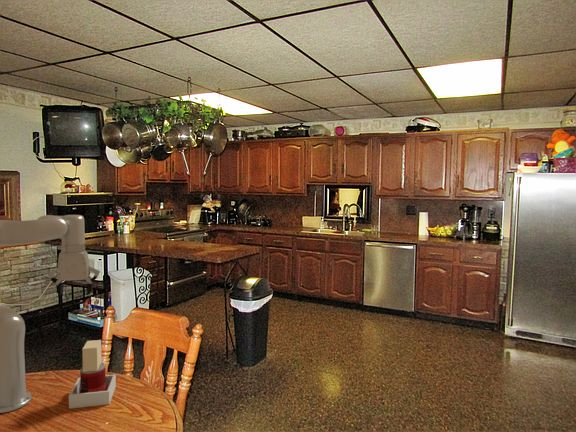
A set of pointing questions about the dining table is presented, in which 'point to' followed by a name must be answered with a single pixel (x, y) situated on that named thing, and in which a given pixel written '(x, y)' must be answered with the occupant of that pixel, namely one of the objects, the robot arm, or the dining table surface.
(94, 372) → the canned food
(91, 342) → the plain beige cuboid
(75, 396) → the box
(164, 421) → the dining table surface
